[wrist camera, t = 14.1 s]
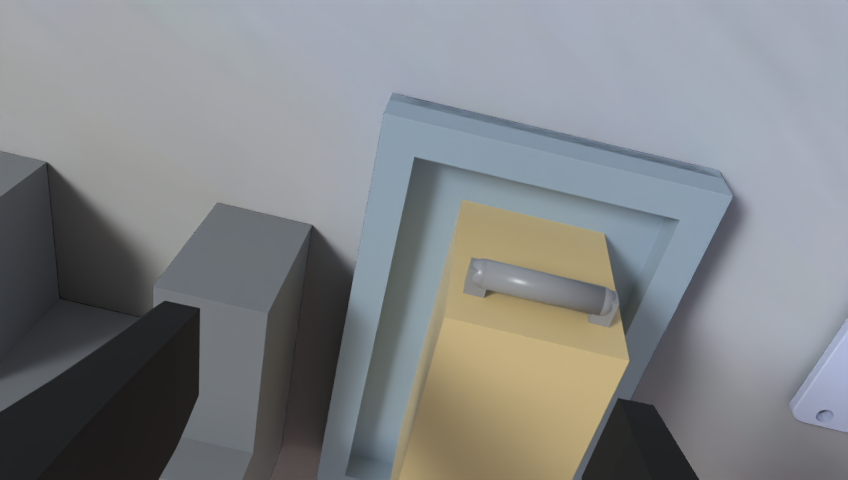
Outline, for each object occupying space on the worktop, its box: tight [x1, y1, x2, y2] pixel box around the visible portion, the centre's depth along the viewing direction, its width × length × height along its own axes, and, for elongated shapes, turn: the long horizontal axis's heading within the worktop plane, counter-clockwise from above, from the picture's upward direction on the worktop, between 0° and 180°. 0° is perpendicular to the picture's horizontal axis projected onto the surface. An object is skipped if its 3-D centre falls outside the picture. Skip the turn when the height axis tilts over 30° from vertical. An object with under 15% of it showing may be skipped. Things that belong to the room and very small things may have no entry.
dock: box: [0, 151, 312, 480], centre depth 22 cm, size 11×10×6 cm
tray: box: [316, 93, 733, 480], centre depth 23 cm, size 9×15×2 cm, turn 168°
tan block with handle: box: [390, 200, 629, 480], centre depth 20 cm, size 4×11×6 cm, turn 168°
